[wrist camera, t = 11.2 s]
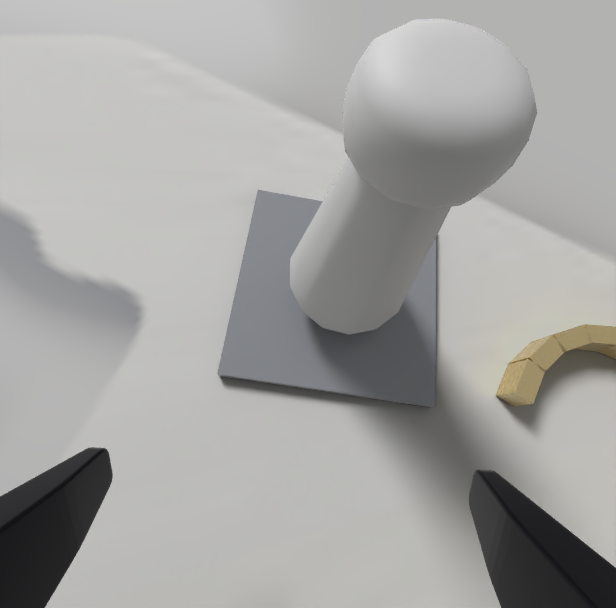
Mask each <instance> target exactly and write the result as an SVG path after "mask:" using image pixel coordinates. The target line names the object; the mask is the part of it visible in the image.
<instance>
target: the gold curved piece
mask: <svg viewBox="0 0 616 608" xmlns="http://www.w3.org/2000/svg"><path fill="white" fill-rule="evenodd" d="M571 349H574V350H587V351H597V352H599V353H602V354H604V355H607V356H609V357H611V358H614V359H616V327H611V326H598V325H586V324H585V325H581V326H578V327H575V328H572V329H569V330H566V331H563V332H560V333H557V334H554V335H551V336H548V337H545V338H542V339H539V340H536V341H533V342H531V343H530V344H529V345H528V346H527V347H526V348H525V349H524V350H523V351H522V352H521V353H520V354H518V355H517V356H516V357H515V358H514V359H513V360H512V361H511V362H510V364H509V365H508V367H507V369H506V372H505V374H504V377H503V379H502V382H501V384H500V386H499V389H498V391H497V394H496V396H498V397H499V398H501V399H502V400H504V401H505V402H507V403H509V404H510V405H512V406H516V405H526V404H534V401H535V398H536V395H537V393H538V390H539V387H540V384H541V382H542V379H543V376H544V373H545V371H546V370H547V369H548V368H549V367H550V366H551V365H552V364H553V363H554V362H555V361H556V360H557V359H558V358H559V357H560V356H561V355H562V354H563V353H564V352H566V351H569V350H571Z"/></svg>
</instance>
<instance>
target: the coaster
mask: <svg viewBox="0 0 616 608" xmlns="http://www.w3.org/2000/svg"><path fill="white" fill-rule="evenodd" d="M322 202H323V201H317V200H311V199H306V198H300V197H295V196H289V195H284V194H278V193H272V192H267V191H261V190H258V192H257V197H256V201H255V206H254V210H253V215H252V219H251V224H250V228H249V233H248V237H247V242H246V247H245V251H244V256H243V260H242V265H241V269H240V274H239V278H238V283H237V287H236V292H235V297H234V301H233V306H232V310H231V315H230V319H229V324H228V328H227V333H226V337H225V342H224V347H223V351H222V356H221V360H220V365H219V369H218V375H219V376H223V377H229V378H236V379H243V380H250V381H256V382H263V383H270V384H277V385H283V386H290V387H297V388H304V389H310V390H317V391H324V392H330V393H337V394H344V395H351V396H357V397H364V398H371V399H378V400H384V401H391V402H398V403H405V404H411V405H418V406H425V407H435V400H436V238H435V240H434V242H433V244H432V246H431V248H430V250H429V252H428V254H427V256H426V258H425V260H424V262H423V264H422V266H421V268H420V270H419V272H418V274H417V276H416V278H415V280H414V282H413V284H412V286H411V288H410V290H409V292H408V294H407V296H406V298H405V300H404V302H403V304H402V306H401V308H400V310H399V312H398V313H397V314H395V315H394V316H393V317H391V318H390V319H389V320H388V321H386V322H385V323H384V324H382V325H381V326H380V327H379V328H377V329H375V330H370V331H365V332H360V333H355V334H349V335H348V334H344V333H340V332H336V331H333V330H329V329H325V328H322V327H321V326H320V325H318V324H317V323H316V322H315V321H313V320H312V319H311V318H310V317H308V316H307V315H306V314H305V313H303V312H302V311H301V309H300V307H299V305H298V302H297V300H296V298H295V296H294V294H293V292H292V290H291V287H290V258H291V256H292V255H293V253H294V251H295V249H296V248H297V246H298V244H299V242H300V241H301V239H302V237H303V235H304V234H305V232H306V230H307V228H308V226H309V225H310V223H311V221H312V219H313V218H314V216H315V214H316V212H317V211H318V209H319V207H320V205H321V204H322Z"/></svg>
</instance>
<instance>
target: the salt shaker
mask: <svg viewBox="0 0 616 608" xmlns="http://www.w3.org/2000/svg"><path fill="white" fill-rule="evenodd" d="M342 113H343V133H344V145H345V152H346V153H347V155H348V158H347V160H346V162H345V163H344V165H343V167H342V169H341V170H340V172H339V174H338V176H337V177H336V179H335V181H334V183H333V184H332V186H331V188H330V190H329V191H328V193H327V195H326V197H325V198H324V200H323V202H322V204H321V205H320V207H319V209H318V211H317V212H316V214H315V216H314V218H313V219H312V221H311V223H310V225H309V226H308V228H307V230H306V232H305V234H304V235H303V237H302V239H301V241H300V242H299V244H298V246H297V248H296V249H295V251H294V253H293V255H292V256H291V258H290V287H291V290H292V292H293V294H294V296H295V298H296V300H297V302H298V305H299V307H300V309H301V311H302V312H303V313H305V314H306V315H307V316H308V317H310V318H311V319H312V320H313V321H315V322H316V323H317V324H318V325H320V326H321V327H322V328H325V329H329V330H333V331H336V332H340V333H344V334H348V335H349V334H355V333H360V332H365V331H370V330H375V329H377V328H379V327H380V326H381V325H382V324H384V323H385V322H386V321H388V320H389V319H390V318H391V317H393V316H394V315H395V314H397V313H398V312H399V310H400V308H401V306H402V304H403V302H404V300H405V298H406V296H407V294H408V292H409V290H410V288H411V286H412V284H413V282H414V280H415V278H416V276H417V274H418V272H419V270H420V268H421V266H422V264H423V262H424V260H425V258H426V256H427V254H428V252H429V250H430V248H431V246H432V244H433V242H434V240H435V238H436V236H437V234H438V232H439V230H440V228H441V226H442V224H443V222H444V220H445V218H446V216H447V214H448V212H449V210H450V208H451V207H452V206H459V205H462V204H464V203H465V202H467V201H469V200H471V199H472V198H474V197H475V196H477V195H478V194H479V193H481V192H482V191H484V190H485V189H487V188H488V187H490V186H491V185H492V184H494V183H495V182H496V181H497V180H498V179H499V178H500V177H501V176H502V175H503V174H504V173H505V172H506V171H507V170H508V169H509V168H510V167H512V166H513V164H514V163H515V161H516V159H517V158H518V156H519V155H520V153H521V151H522V150H523V148H524V147H525V145H526V143H527V142H528V140H529V137H530V134H531V131H532V127H533V124H534V121H535V117H536V115H537V109H536V103H535V98H534V93H533V89H532V86H531V82H530V78H529V74H528V71H527V68H526V67H525V66H524V65H523V64H522V63H521V61H519V59H518V58H517V57H516V56H515V55H514V53H513V52H512V51H511V50H510V49H509V48H508V46H506V45H505V44H503V43H502V42H500V41H499V40H497V39H496V38H494V37H492V36H491V35H489V34H488V33H486V32H484V31H483V30H481V29H480V28H477V27H474V26H470V25H467V24H463V23H459V22H456V21H452V20H448V19H415V20H413V21H411V22H409V23H407V24H404V25H402V26H400V27H398V28H396V29H394V30H392V31H390V32H388V33H385V34H383V35H381V36H380V37H377V38H375V39H374V40H373V41H372V43H371V44H370V45H369V47H368V48H367V50H366V51H365V53H364V54H363V56H362V57H361V59H360V60H359V62H358V63H357V65H356V68H355V70H354V72H353V75H352V77H351V79H350V81H349V84H348V86H347V89H346V94H345V100H344V106H343V112H342Z"/></svg>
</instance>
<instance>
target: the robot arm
mask: <svg viewBox="0 0 616 608" xmlns="http://www.w3.org/2000/svg"><path fill="white" fill-rule="evenodd" d="M112 476H113V475H112V468H111V463H110V457H109V452H108V451H107V449H105V448H94V447H92V448H88V449H86V450H84V451H82V452H80V453H78V454H76V455H75V456H73V457H71V458H69V459H67V460H66V461H64V462H62V463H60V464H58V465H57V466H55V467H53V468H51V469H49V470H48V471H46V472H44V473H42V474H40V475H38V476H37V477H35V478H33V479H31V480H29V481H28V482H26V483H24V484H22V485H20V486H19V487H17V488H15V489H13V490H11V491H9V492H8V493H6V494H4V495H2V496H0V608H45V606H46V605H47V603H48V601H49V600H50V598H51V596H52V595H53V593H54V591H55V590H56V588H57V586H58V584H59V583H60V581H61V579H62V578H63V576H64V574H65V573H66V571H67V569H68V568H69V566H70V564H71V563H72V561H73V559H74V557H75V556H76V554H77V552H78V550H79V549H80V547H81V545H82V543H83V541H84V539H85V537H86V535H87V533H88V531H89V529H90V527H91V524H92V522H93V520H94V518H95V516H96V514H97V512H98V510H99V508H100V506H101V504H102V502H103V500H104V498H105V495H106V493H107V491H108V489H109V487H110V485H111V482H112ZM469 505H470V509H471V513H472V516H473V520H474V523H475V527H476V530H477V534H478V538H479V541H480V545H481V548H482V552H483V555H484V559H485V562H486V566H487V569H488V572H489V575H490V579H491V581H492V584H493V587H494V590H495V592H496V595H497V597H498V600H499V603H500V605H501V608H616V568H615V567H614V566H613V565H611V564H610V563H609V562H608V561H606V560H605V559H604V558H603V557H601V556H600V555H599V554H598V553H596V552H595V551H594V550H593V549H591V548H590V547H589V546H588V545H586V544H585V543H584V542H583V541H581V540H580V539H579V538H578V537H576V536H575V535H574V534H573V533H571V532H570V531H569V530H568V529H566V528H565V527H564V526H563V525H561V524H560V523H559V522H558V521H556V520H555V519H554V518H553V517H551V516H550V515H549V514H548V513H546V512H545V511H544V510H543V509H541V508H540V507H539V506H538V505H536V504H535V503H534V502H533V501H531V500H530V499H529V498H528V497H526V496H525V495H524V494H523V493H521V492H520V491H519V490H518V489H516V488H515V487H514V486H513V485H511V484H510V483H509V482H508V481H506V480H505V479H504V478H503V477H501V476H500V475H499V474H498V473H496V472H494V471H491V470H476V471H475V473H474V475H473V480H472V485H471V489H470V494H469Z"/></svg>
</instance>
